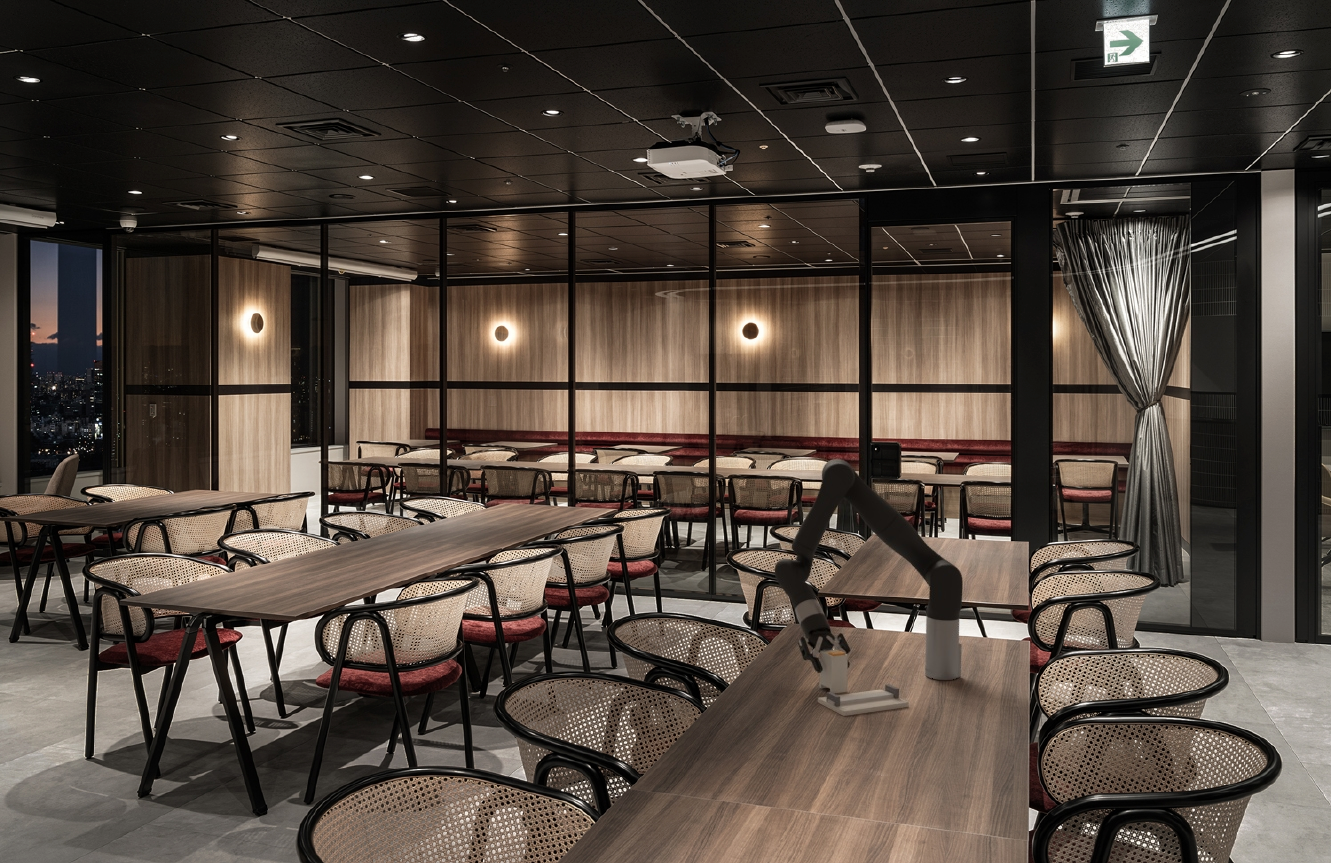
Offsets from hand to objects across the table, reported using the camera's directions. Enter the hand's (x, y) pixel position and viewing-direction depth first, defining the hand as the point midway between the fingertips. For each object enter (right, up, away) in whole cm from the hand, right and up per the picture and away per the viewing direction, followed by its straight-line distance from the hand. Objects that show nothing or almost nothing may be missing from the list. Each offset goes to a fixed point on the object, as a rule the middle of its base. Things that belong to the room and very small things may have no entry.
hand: (833, 669), depth 277 cm
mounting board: (+6, -6, -12) cm, 15 cm away
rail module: (0, -5, 0) cm, 6 cm away
